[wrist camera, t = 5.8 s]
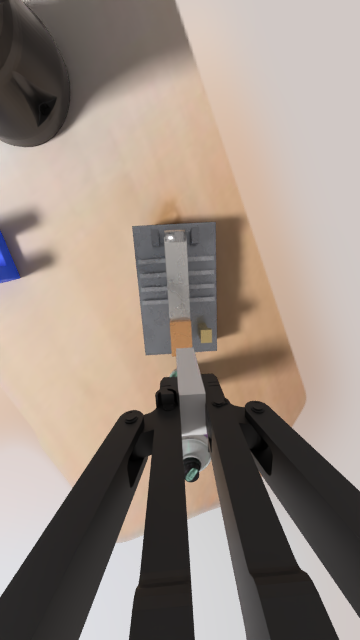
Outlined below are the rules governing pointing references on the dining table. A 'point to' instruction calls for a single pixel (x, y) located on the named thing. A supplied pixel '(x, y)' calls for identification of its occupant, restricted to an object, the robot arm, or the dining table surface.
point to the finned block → (156, 291)
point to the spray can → (194, 452)
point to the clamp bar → (178, 289)
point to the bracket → (6, 263)
